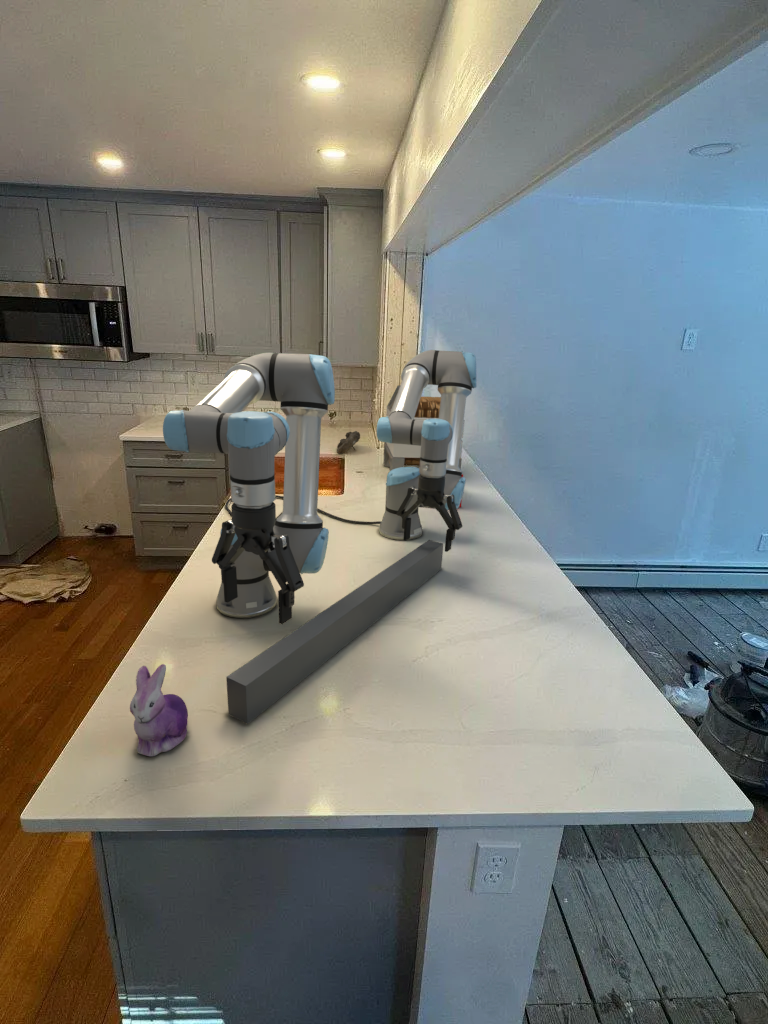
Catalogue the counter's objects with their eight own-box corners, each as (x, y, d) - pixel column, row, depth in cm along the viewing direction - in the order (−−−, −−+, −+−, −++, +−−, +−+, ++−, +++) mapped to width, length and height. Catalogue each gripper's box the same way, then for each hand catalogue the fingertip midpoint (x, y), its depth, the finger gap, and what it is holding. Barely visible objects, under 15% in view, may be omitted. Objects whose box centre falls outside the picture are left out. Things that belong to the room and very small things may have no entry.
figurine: (137, 767, 96) (127, 693, 90) (132, 728, 104) (122, 659, 99) (195, 750, 100) (189, 678, 95) (185, 714, 108) (179, 646, 103)
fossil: (337, 437, 322) (357, 422, 317) (347, 450, 325) (368, 435, 320) (330, 450, 302) (352, 434, 297) (341, 464, 305) (363, 448, 300)
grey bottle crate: (382, 463, 289) (386, 382, 275) (445, 464, 293) (451, 384, 279) (390, 482, 257) (394, 392, 243) (460, 483, 261) (468, 394, 247)
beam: (427, 565, 176) (428, 539, 174) (441, 569, 174) (443, 543, 171) (228, 714, 109) (226, 676, 106) (247, 724, 107) (245, 686, 104)
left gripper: (187, 493, 102) (195, 598, 109) (295, 524, 90) (296, 640, 97) (218, 484, 108) (224, 584, 115) (324, 511, 96) (323, 621, 103)
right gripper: (387, 469, 163) (384, 538, 170) (467, 485, 151) (460, 559, 158) (400, 465, 169) (396, 531, 176) (478, 480, 157) (471, 550, 164)
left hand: (257, 609), depth 106 cm, fingers open, 13 cm apart
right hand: (426, 544), depth 167 cm, fingers open, 13 cm apart
